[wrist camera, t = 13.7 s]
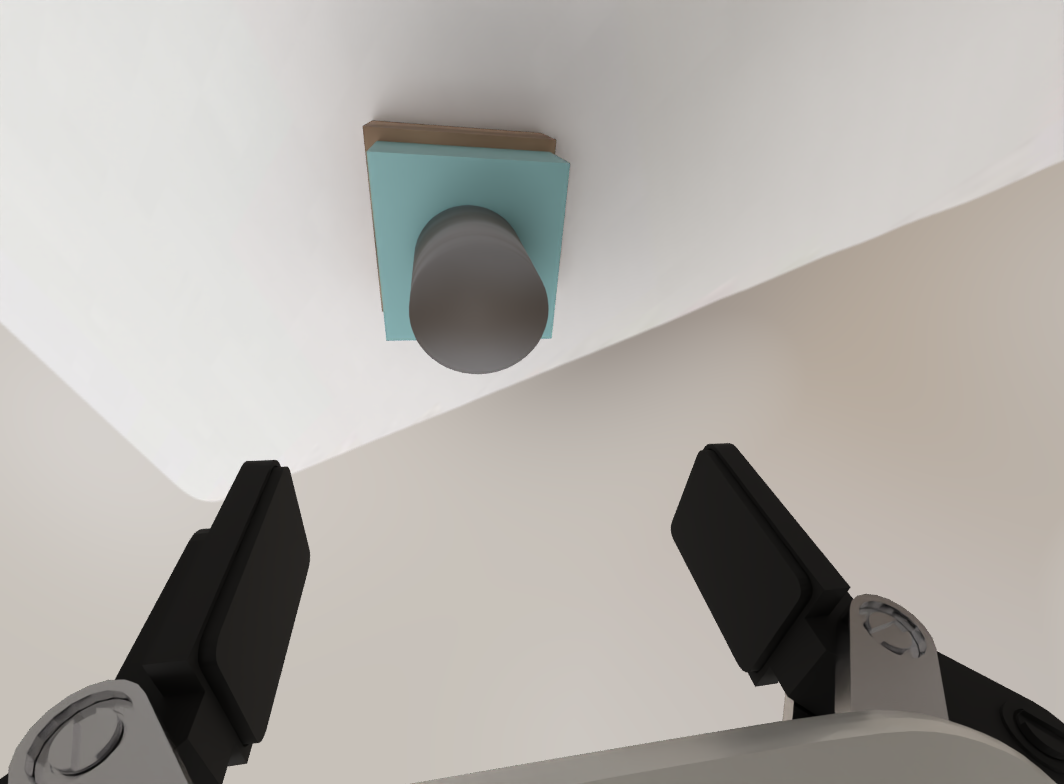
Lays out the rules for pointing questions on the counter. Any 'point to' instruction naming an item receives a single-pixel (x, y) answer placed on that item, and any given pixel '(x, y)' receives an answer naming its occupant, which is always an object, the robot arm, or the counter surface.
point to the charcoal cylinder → (475, 292)
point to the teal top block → (454, 180)
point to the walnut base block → (451, 141)
